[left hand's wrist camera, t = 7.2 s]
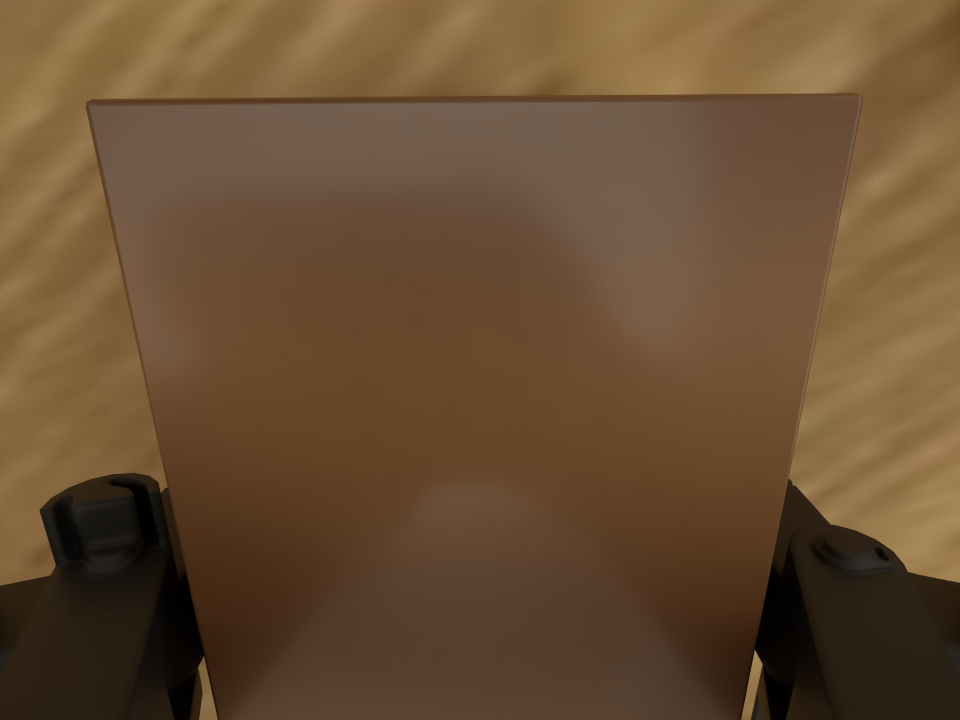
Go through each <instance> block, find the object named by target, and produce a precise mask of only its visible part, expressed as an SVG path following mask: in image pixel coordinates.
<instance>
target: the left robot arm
mask: <svg viewBox="0 0 960 720" xmlns="http://www.w3.org/2000/svg"><path fill="white" fill-rule="evenodd" d="M40 513H41V517H42V520H43V523H44V527H45V530H46V533H47V537H48V540H49V543H50V547H51V550H52V553H53V557H54V560H55V563H56V567H55V569H54V570H53V572H52V574H51V575H50V576H46V577H42V578H37V579H32V580H27V581H22V582H17V583H12V584H7V585H2V586H0V720H199V716H200V709H201V701H202V686H201V679H200V674H199V670H198V666H199V664H200V662H201V661H202V659H203V657H204V653H203V648H202V643H201V639H200V634H199V629H198V625H197V620H196V615H195V611H194V606H193V602H192V597H191V592H190V588H189V583H188V578H187V574H186V569H185V564H184V560H183V555H182V551H181V546H180V541H179V537H178V532H177V527H176V523H175V518H174V513H173V509H172V504H171V499H170V495H169V490H168V488H165V489H164V490H163V491H162V493H160V488H159V484H158V482H157V481H156V480H154V479H153V478H152V477H150V476H147V475H142V474H136V473H126V474H112V475H108V476H103V477H99V478H94V479H90V480H88V481H85V482H82V483H80V484H77V485H74V486H72V487H69V488H68V489H66V490H64V491H62V492H61V493H59V494H57V495H56V496H54V497H52V498H51V499H50V500H49V501H48V502H47V503H46V504H45V505H44V506H43V507H42V508H41V509H40ZM755 651H756V652H757V654H758V656H759V658H760V660H761V662H762V664H763V665H762V670H761V674H760V679H759V684H758V688H757V693H756V698H755V702H754V707H753V712H752V716H751V720H960V583H957V582H952V581H947V580H942V579H937V578H932V577H927V576H922V575H917V574H914V573H910V572H908V571H907V569H906V567H905V565H904V564H903V563H902V561H901V560H900V559H899V558H898V557H897V555H896V554H895V553H894V552H893V551H892V550H890V549H889V548H887V547H886V546H885V545H883V544H882V543H880V542H879V541H877V540H876V539H874V538H871V537H869V536H867V535H865V534H862V533H860V532H858V531H855V530H852V529H848V528H844V527H840V526H836V525H830V523H829V522H828V521H827V520H826V519H825V518H824V517H823V516H822V515H821V514H820V512H819V511H818V510H817V509H816V508H815V507H814V506H813V505H812V504H811V502H810V501H809V500H808V499H807V498H806V497H805V496H804V495H803V494H802V492H801V491H800V490H799V489H798V488H797V487H796V486H793V485H792V481H791V480H790V479H789V478H788V483H787V488H786V494H785V499H784V504H783V509H782V514H781V519H780V524H779V529H778V534H777V539H776V544H775V549H774V554H773V560H772V565H771V570H770V575H769V580H768V585H767V590H766V595H765V600H764V605H763V610H762V615H761V621H760V626H759V631H758V636H757V641H756V646H755Z"/></svg>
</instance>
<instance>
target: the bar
mask: <svg viewBox="0 0 960 720" xmlns="http://www.w3.org/2000/svg"><path fill="white" fill-rule="evenodd" d="M862 102H863V99H862V96H861V95H858V94H856V93H841V94H708V95H575V96H442V97H309V98H176V99H92V100H90V101H88V102H86V110H87V114H88V119H89V124H90V128H91V133H92V137H93V142H94V147H95V151H96V156H97V161H98V165H99V170H100V175H101V179H102V184H103V189H104V193H105V198H106V202H107V207H108V212H109V216H110V221H111V226H112V230H113V235H114V240H115V244H116V249H117V254H118V258H119V263H120V267H121V272H122V277H123V281H124V286H125V291H126V295H127V300H128V305H129V309H130V314H131V318H132V323H133V328H134V332H135V337H136V342H137V346H138V351H139V356H140V360H141V365H142V370H143V374H144V379H145V383H146V388H147V393H148V397H149V402H150V407H151V411H152V416H153V421H154V425H155V430H156V435H157V439H158V444H159V448H160V453H161V458H162V462H163V467H164V472H165V476H166V481H167V486H168V490H169V495H170V499H171V504H172V509H173V513H174V518H175V523H176V527H177V532H178V537H179V541H180V546H181V551H182V555H183V560H184V564H185V569H186V574H187V578H188V583H189V588H190V592H191V597H192V602H193V606H194V611H195V615H196V620H197V625H198V629H199V634H200V639H201V643H202V648H203V653H204V657H205V662H206V667H207V671H208V676H209V680H210V685H211V690H212V694H213V699H214V704H215V708H216V713H217V718H218V720H741V717H742V712H743V707H744V702H745V697H746V692H747V687H748V681H749V676H750V671H751V666H752V661H753V656H754V651H755V646H756V641H757V636H758V631H759V626H760V621H761V615H762V610H763V605H764V600H765V595H766V590H767V585H768V580H769V575H770V570H771V565H772V560H773V554H774V549H775V544H776V539H777V534H778V529H779V524H780V519H781V514H782V509H783V504H784V499H785V494H786V488H787V483H788V478H789V473H790V468H791V463H792V458H793V453H794V448H795V443H796V438H797V433H798V427H799V422H800V417H801V412H802V407H803V402H804V397H805V392H806V387H807V382H808V377H809V372H810V367H811V361H812V356H813V351H814V346H815V341H816V336H817V331H818V326H819V321H820V316H821V311H822V306H823V300H824V295H825V290H826V285H827V280H828V275H829V270H830V265H831V260H832V255H833V250H834V245H835V240H836V234H837V229H838V224H839V219H840V214H841V209H842V204H843V199H844V194H845V189H846V184H847V179H848V174H849V168H850V163H851V158H852V153H853V148H854V143H855V138H856V133H857V128H858V123H859V118H860V113H861V107H862Z"/></svg>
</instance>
